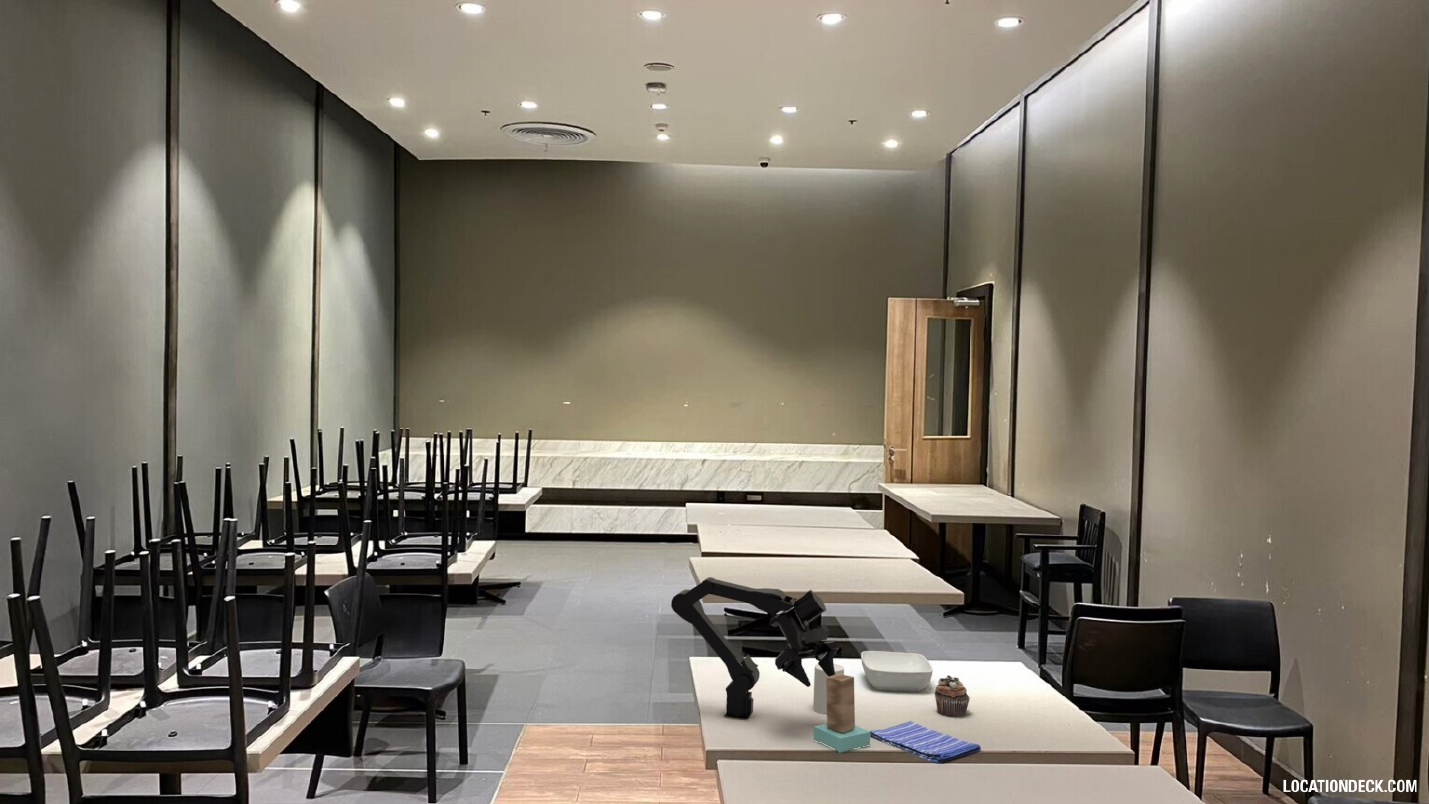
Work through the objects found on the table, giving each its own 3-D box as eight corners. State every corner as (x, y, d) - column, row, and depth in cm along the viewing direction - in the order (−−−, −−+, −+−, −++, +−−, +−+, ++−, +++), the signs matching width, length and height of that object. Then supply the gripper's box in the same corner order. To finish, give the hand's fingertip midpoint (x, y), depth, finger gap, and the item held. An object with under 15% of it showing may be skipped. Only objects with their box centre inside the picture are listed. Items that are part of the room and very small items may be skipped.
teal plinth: (813, 741, 269) (814, 726, 269) (843, 735, 274) (844, 720, 274) (839, 754, 260) (840, 738, 260) (869, 747, 266) (870, 731, 266)
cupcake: (962, 720, 288) (964, 684, 288) (928, 713, 293) (930, 678, 293) (973, 711, 296) (975, 676, 296) (940, 705, 301) (942, 670, 301)
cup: (841, 715, 289) (842, 672, 288) (811, 712, 290) (813, 669, 290) (843, 706, 297) (845, 664, 296) (814, 704, 298) (816, 662, 298)
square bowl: (935, 696, 310) (936, 670, 309) (865, 694, 310) (866, 668, 310) (922, 676, 330) (923, 652, 330) (857, 674, 330) (858, 649, 330)
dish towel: (939, 767, 255) (940, 755, 255) (866, 738, 273) (867, 727, 273) (983, 752, 265) (983, 741, 265) (910, 726, 284) (911, 715, 284)
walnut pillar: (827, 728, 267) (826, 677, 267) (839, 724, 270) (838, 673, 271) (843, 732, 263) (842, 680, 263) (854, 728, 267) (854, 676, 267)
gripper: (784, 619, 270) (812, 672, 262) (835, 610, 282) (864, 661, 274) (762, 642, 276) (789, 695, 268) (813, 633, 288) (840, 683, 280)
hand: (822, 683), depth 272 cm, fingers open, 9 cm apart
